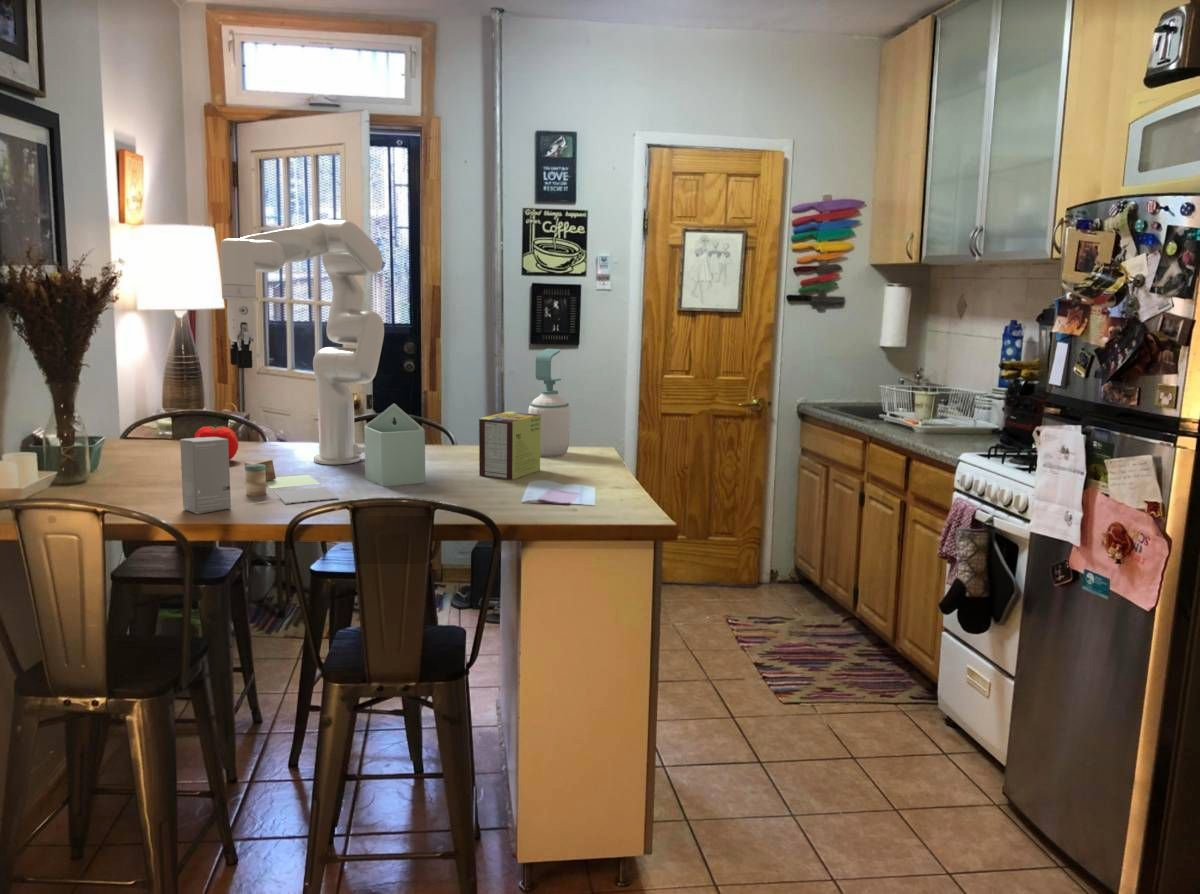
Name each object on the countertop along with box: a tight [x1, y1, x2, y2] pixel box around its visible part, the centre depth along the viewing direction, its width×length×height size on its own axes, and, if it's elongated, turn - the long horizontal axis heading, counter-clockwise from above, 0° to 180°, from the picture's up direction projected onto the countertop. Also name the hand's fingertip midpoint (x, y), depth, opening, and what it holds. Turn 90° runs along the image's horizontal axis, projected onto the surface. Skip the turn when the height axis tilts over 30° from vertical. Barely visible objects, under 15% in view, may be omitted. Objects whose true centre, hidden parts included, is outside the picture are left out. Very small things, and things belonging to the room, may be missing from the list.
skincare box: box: [179, 437, 232, 515], centre depth 206 cm, size 8×7×16 cm
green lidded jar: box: [244, 464, 267, 497], centre depth 221 cm, size 5×5×7 cm
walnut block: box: [243, 457, 276, 482], centre depth 234 cm, size 5×5×5 cm
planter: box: [364, 403, 426, 487], centre depth 236 cm, size 16×8×20 cm, turn 78°
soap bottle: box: [527, 348, 571, 458], centre depth 278 cm, size 12×12×31 cm
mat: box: [266, 474, 321, 489], centre depth 235 cm, size 12×12×1 cm
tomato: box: [193, 424, 239, 461], centre depth 257 cm, size 12×12×10 cm
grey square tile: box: [274, 486, 339, 505], centre depth 221 cm, size 12×12×1 cm
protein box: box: [478, 411, 541, 481], centre depth 252 cm, size 10×15×16 cm
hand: (241, 366), depth 223 cm, fingers open, 9 cm apart
